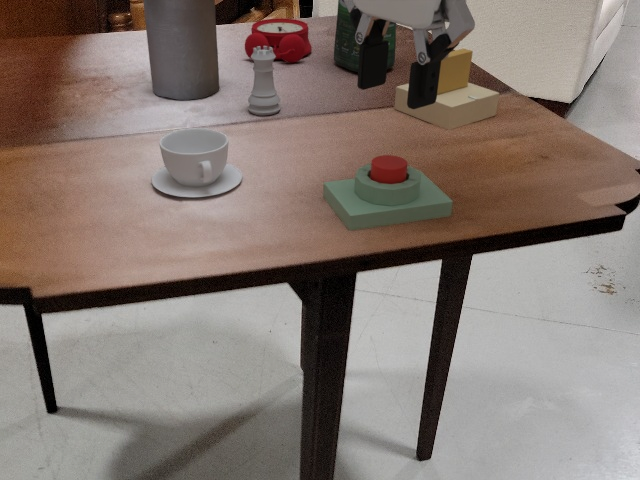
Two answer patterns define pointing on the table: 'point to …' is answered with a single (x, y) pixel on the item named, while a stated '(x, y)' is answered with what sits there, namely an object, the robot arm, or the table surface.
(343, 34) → the coffee jar
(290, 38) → the alarm clock
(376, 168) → the button
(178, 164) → the teacup
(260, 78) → the rook chess piece
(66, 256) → the table surface
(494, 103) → the plate
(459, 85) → the handle
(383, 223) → the button block
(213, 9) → the pillar candle
